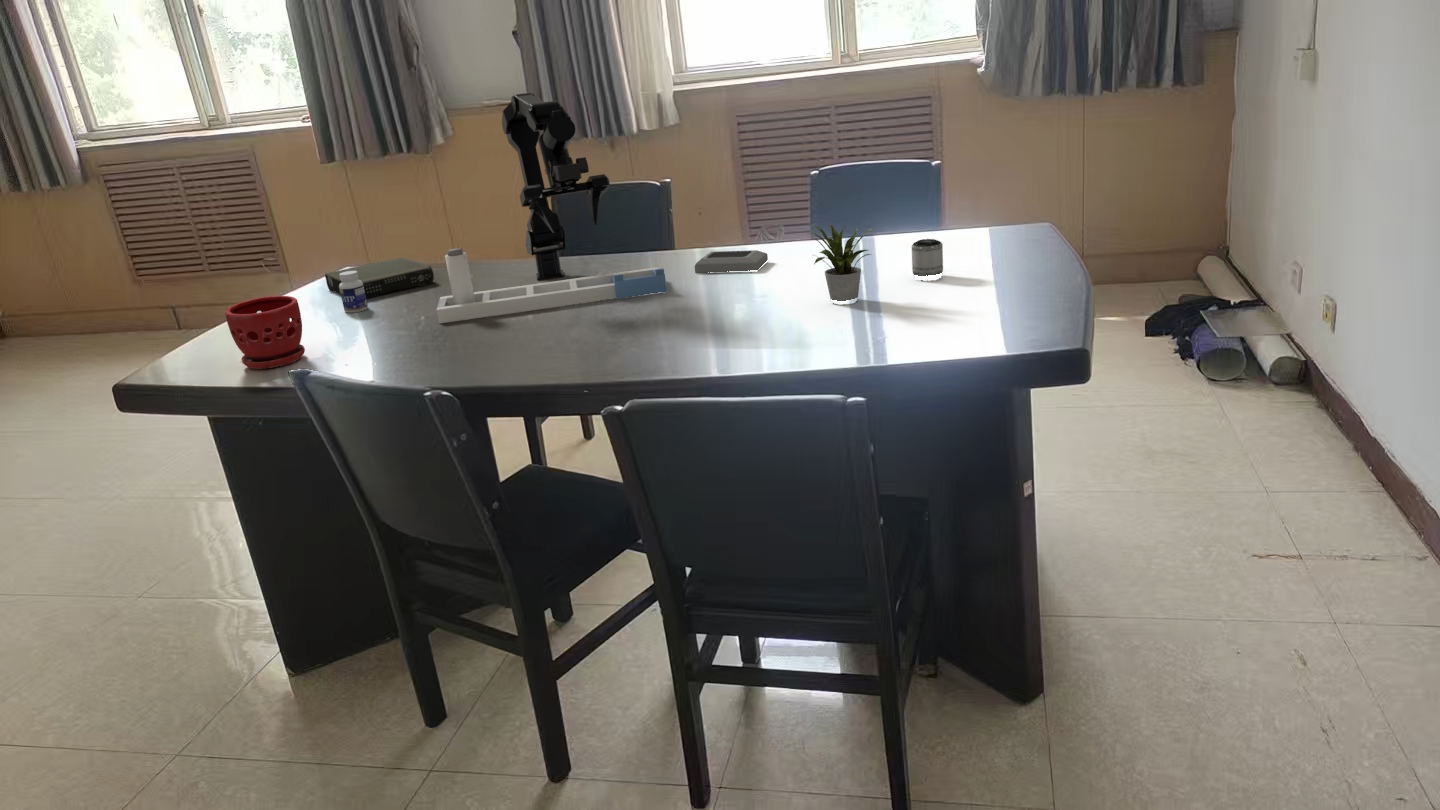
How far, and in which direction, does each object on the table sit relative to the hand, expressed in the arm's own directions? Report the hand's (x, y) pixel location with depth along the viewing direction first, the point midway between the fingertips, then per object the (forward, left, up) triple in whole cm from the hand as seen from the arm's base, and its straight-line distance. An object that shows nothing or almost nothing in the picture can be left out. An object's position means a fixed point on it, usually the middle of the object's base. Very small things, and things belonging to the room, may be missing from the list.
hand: (574, 228), depth 215 cm
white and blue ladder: (-4, -7, -16) cm, 18 cm away
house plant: (+30, +48, -16) cm, 59 cm away
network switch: (-45, -49, -16) cm, 68 cm away
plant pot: (+15, -62, -16) cm, 66 cm away
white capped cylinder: (-4, -26, -16) cm, 31 cm away
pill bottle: (-22, -52, -16) cm, 58 cm away
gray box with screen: (-12, +35, -16) cm, 41 cm away
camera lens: (+22, +70, -16) cm, 75 cm away
